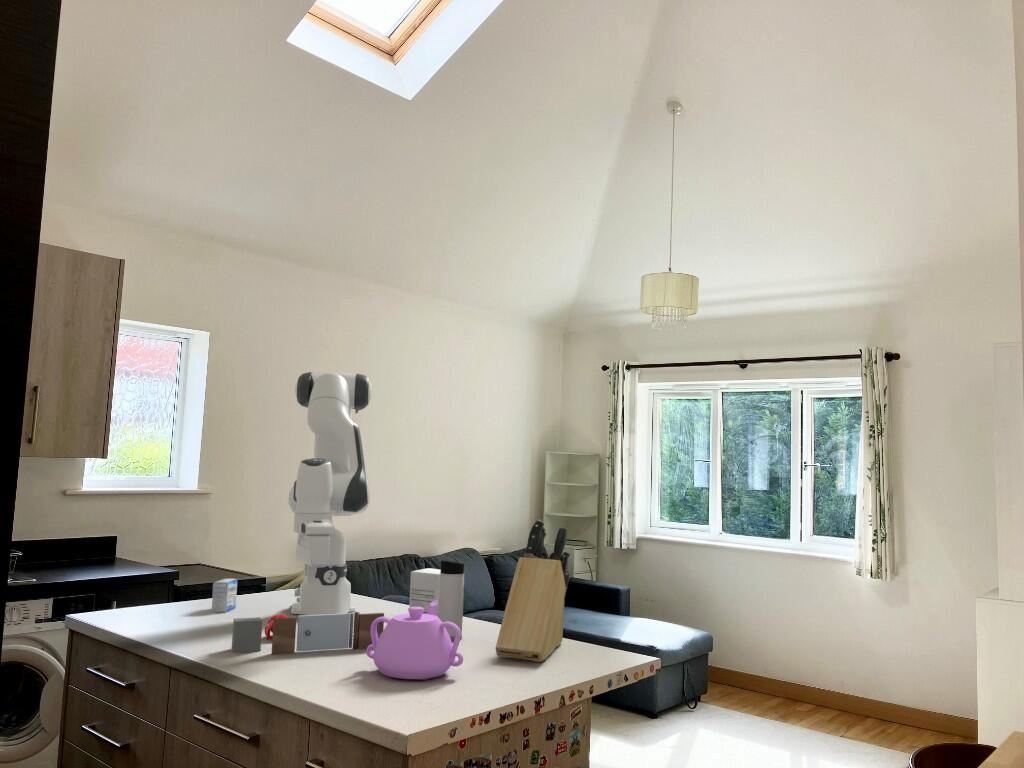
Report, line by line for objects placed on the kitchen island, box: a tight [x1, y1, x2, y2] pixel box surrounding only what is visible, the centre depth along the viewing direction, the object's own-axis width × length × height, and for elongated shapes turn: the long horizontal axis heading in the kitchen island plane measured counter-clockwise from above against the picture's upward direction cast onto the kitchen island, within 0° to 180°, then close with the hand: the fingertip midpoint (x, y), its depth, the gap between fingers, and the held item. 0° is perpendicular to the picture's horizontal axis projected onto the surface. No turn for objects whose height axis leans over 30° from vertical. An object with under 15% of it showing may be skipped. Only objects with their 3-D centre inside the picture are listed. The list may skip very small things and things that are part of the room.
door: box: [295, 612, 354, 653], centre depth 189 cm, size 13×2×8 cm, turn 115°
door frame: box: [271, 611, 385, 656], centre depth 189 cm, size 1×26×8 cm, turn 115°
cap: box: [264, 613, 288, 640], centre depth 201 cm, size 8×6×6 cm
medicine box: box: [211, 578, 238, 614], centre depth 235 cm, size 8×4×9 cm, turn 179°
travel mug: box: [438, 559, 465, 642], centre depth 207 cm, size 6×7×20 cm
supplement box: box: [408, 567, 441, 617], centre depth 224 cm, size 9×9×15 cm
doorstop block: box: [231, 616, 263, 654], centre depth 187 cm, size 4×6×7 cm, turn 115°
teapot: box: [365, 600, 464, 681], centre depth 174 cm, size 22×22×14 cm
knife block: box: [495, 519, 571, 663], centre depth 200 cm, size 11×35×31 cm, turn 165°
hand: (309, 582), depth 193 cm, fingers closed
